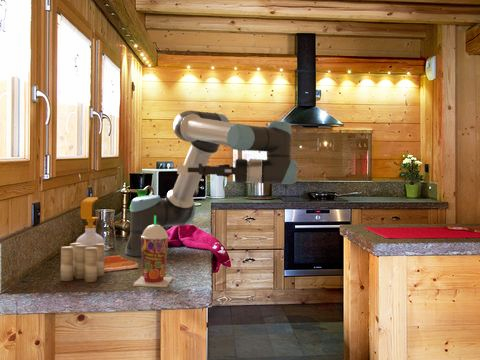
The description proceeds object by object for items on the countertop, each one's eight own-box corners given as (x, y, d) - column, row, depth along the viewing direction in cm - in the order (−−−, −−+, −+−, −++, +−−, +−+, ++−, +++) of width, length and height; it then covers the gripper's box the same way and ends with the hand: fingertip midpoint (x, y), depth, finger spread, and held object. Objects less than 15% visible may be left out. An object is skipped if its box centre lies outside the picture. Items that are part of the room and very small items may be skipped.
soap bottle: (108, 268, 163) (110, 197, 162) (93, 273, 154) (95, 198, 154) (86, 265, 165) (87, 196, 165) (70, 271, 157) (71, 197, 156)
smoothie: (141, 284, 140) (142, 217, 139) (138, 277, 148) (140, 214, 147) (169, 283, 142) (170, 217, 142) (165, 276, 150) (167, 214, 150)
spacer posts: (72, 273, 154) (72, 242, 154) (105, 274, 154) (106, 243, 154) (58, 280, 144) (59, 248, 143) (94, 282, 143) (94, 249, 143)
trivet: (141, 277, 150) (141, 276, 150) (172, 279, 150) (172, 277, 150) (133, 285, 140) (133, 283, 140) (166, 287, 140) (166, 285, 140)
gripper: (246, 184, 137) (173, 182, 137) (248, 181, 162) (186, 180, 162) (247, 158, 136) (174, 156, 137) (248, 159, 161) (187, 158, 162)
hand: (181, 169), depth 150 cm, fingers open, 13 cm apart
